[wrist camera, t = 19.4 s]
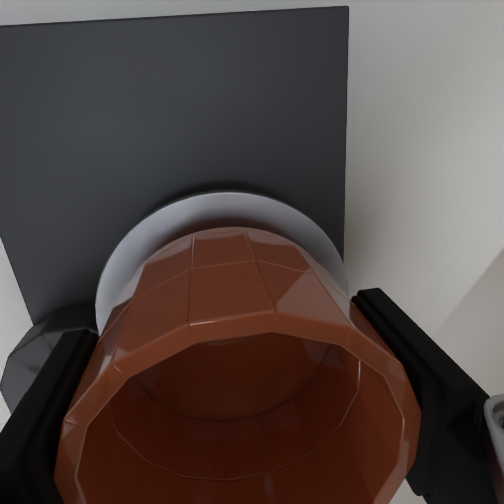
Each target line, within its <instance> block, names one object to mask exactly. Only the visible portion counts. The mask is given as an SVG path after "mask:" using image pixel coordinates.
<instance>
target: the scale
mask: <svg viewBox="0 0 504 504" xmlns="http://www.w3.org/2000/svg"><path fill="white" fill-rule="evenodd" d="M348 35H349V6H332V7H314V8H297V9H280V10H262V11H245V12H228V13H210V14H193V15H176V16H158V17H141V18H124V19H106V20H89V21H72V22H54V23H37V24H20V25H2V26H0V237H1V240H2V242H3V245H4V248H5V250H6V253H7V256H8V258H9V261H10V264H11V267H12V269H13V272H14V275H15V277H16V280H17V283H18V285H19V288H20V291H21V293H22V296H23V299H24V301H25V304H26V307H27V309H28V312H29V315H30V317H31V320H32V323H33V325H34V326H33V327H32V328H30V329H29V331H28V332H27V333H26V334H25V336H24V337H23V338H22V340H21V341H20V342H19V343H18V345H17V346H16V347H15V349H14V350H13V351H12V352H11V354H10V355H9V356H8V359H7V362H6V366H5V369H4V372H3V376H2V379H1V382H0V391H1V393H2V395H3V397H4V399H5V402H6V404H7V406H8V408H9V410H10V413H11V415H12V413H13V412H14V410H15V408H16V407H17V405H18V404H19V402H20V400H21V399H22V397H23V395H24V394H25V393H26V392H27V390H28V389H29V388H30V386H31V385H32V383H33V381H34V380H35V378H36V376H37V375H38V373H39V371H40V370H41V368H42V367H43V365H44V363H45V362H46V360H47V358H48V357H49V355H50V354H51V352H52V350H53V349H54V347H55V345H56V344H57V342H58V341H59V339H60V337H61V336H62V334H63V333H64V332H67V331H74V330H81V329H89V330H90V332H91V333H97V335H98V337H99V338H100V336H99V332H98V327H97V323H96V311H95V302H96V293H97V287H98V283H99V280H100V276H101V273H102V271H103V269H104V266H105V264H106V262H107V260H108V258H109V256H110V255H111V253H112V252H113V250H114V248H115V247H116V245H117V244H118V242H119V241H120V240H121V239H122V237H123V236H124V235H125V234H126V233H127V232H128V231H129V229H130V228H131V227H132V226H134V225H135V224H136V223H137V222H138V221H140V220H141V219H142V218H143V217H144V216H146V215H147V214H149V213H150V212H152V211H154V210H155V209H157V208H158V207H160V206H162V205H164V204H166V203H168V202H171V201H173V200H175V199H177V198H181V197H184V196H187V195H190V194H193V193H198V192H204V191H210V190H225V189H234V190H245V191H252V192H256V193H261V194H265V195H269V196H271V197H274V198H277V199H279V200H282V201H284V202H286V203H288V204H290V205H291V206H293V207H295V208H297V209H298V210H300V211H301V212H303V213H304V214H305V215H307V216H308V217H309V218H311V219H312V220H313V221H314V222H315V223H316V224H317V225H318V226H319V227H320V228H321V229H322V230H323V231H324V232H325V234H326V235H327V236H328V238H329V239H330V240H331V242H332V243H333V244H334V246H335V248H336V250H337V252H338V254H339V255H340V257H341V260H342V263H343V256H344V212H345V167H346V123H347V79H348Z"/></svg>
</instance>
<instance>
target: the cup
mask: <svg viewBox="0 0 504 504" xmlns="http://www.w3.org/2000/svg"><path fill="white" fill-rule="evenodd" d="M421 419H422V410H421V407H420V405H419V403H418V400H417V398H416V395H415V393H414V391H413V388H412V386H411V383H410V381H409V379H408V376H407V374H406V371H405V369H404V367H403V365H402V363H401V362H400V361H399V359H398V358H397V357H396V356H395V355H394V353H393V352H392V351H391V350H390V348H389V347H388V346H387V345H386V343H385V342H384V341H383V340H382V338H381V337H380V336H379V335H378V333H377V332H376V331H375V330H374V328H373V327H372V326H371V325H370V323H369V322H368V321H367V320H366V318H365V317H364V316H363V315H362V313H361V312H360V311H359V310H358V308H357V307H356V306H355V305H354V303H353V302H352V301H351V300H350V298H349V297H348V296H347V295H346V293H345V292H344V291H343V290H342V288H341V287H340V286H339V285H338V283H337V282H336V281H335V280H334V278H333V277H332V276H331V275H330V273H329V272H328V271H327V270H326V269H325V268H324V267H322V266H321V265H320V264H319V263H318V262H317V261H316V260H315V259H314V258H313V257H312V256H311V255H310V254H309V253H308V252H307V251H306V250H304V249H303V248H301V247H300V246H298V245H297V244H295V243H294V242H292V241H290V240H288V239H286V238H284V237H282V236H280V235H277V234H274V233H271V232H268V231H264V230H259V229H254V228H245V227H221V228H213V229H208V230H202V231H199V232H196V233H193V234H189V235H186V236H184V237H182V238H179V239H177V240H175V241H173V242H171V243H169V244H168V245H166V246H164V247H163V248H161V249H160V250H158V251H156V252H155V253H154V254H153V255H152V256H150V257H149V258H148V259H147V260H146V261H144V263H143V264H142V265H141V266H140V267H139V268H138V269H137V270H136V271H135V272H134V274H133V275H132V277H131V278H130V280H129V281H128V283H127V284H126V286H125V288H124V290H123V291H122V293H121V294H120V295H119V296H118V298H117V300H116V302H115V304H114V306H113V308H112V311H111V313H110V315H109V318H108V320H107V322H106V324H105V327H104V329H103V331H102V333H101V336H100V338H99V340H98V342H97V345H96V347H95V349H94V351H93V354H92V356H91V358H90V361H89V363H88V365H87V367H86V370H85V372H84V374H83V376H82V379H81V381H80V383H79V385H78V388H77V390H76V392H75V395H74V397H73V399H72V401H71V404H70V406H69V408H68V410H67V413H66V415H65V417H64V419H63V423H62V428H61V434H60V439H59V445H58V450H57V456H56V461H55V467H54V472H53V478H54V479H53V481H54V483H55V486H56V488H57V490H58V493H59V495H60V497H61V499H62V502H63V504H389V502H390V501H391V499H392V498H393V496H394V495H395V493H396V491H397V490H398V488H399V487H400V485H401V484H402V482H403V480H404V479H405V477H406V476H407V474H408V473H409V471H410V469H411V468H412V466H413V465H414V463H415V462H414V461H415V460H416V454H417V447H418V440H419V433H420V426H421Z"/></svg>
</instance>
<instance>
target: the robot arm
mask: <svg viewBox="0 0 504 504" xmlns="http://www.w3.org/2000/svg"><path fill="white" fill-rule="evenodd" d="M351 301H352V302H353V303H354V305H355V306H356V307H357V308H358V310H359V311H360V312H361V313H362V315H363V316H364V317H365V318H366V320H367V321H368V322H369V323H370V325H371V326H372V327H373V328H374V330H375V331H376V332H377V333H378V335H379V336H380V337H381V338H382V340H383V341H384V342H385V343H386V345H387V346H388V347H389V348H390V350H391V351H392V352H393V353H394V355H395V356H396V357H397V358H398V359H399V361H400V362H401V363H402V365H403V367H404V369H405V371H406V374H407V376H408V379H409V381H410V383H411V386H412V388H413V391H414V393H415V395H416V398H417V400H418V403H419V405H420V407H421V410H422V419H421V426H420V433H419V440H418V447H417V454H416V460H415V461H414V462H415V463H414V465H413V466H412V468H411V469H410V471H409V473H408V474H407V476H406V477H405V478H406V480H407V482H408V484H409V485H410V487H411V489H412V491H413V492H414V493H415V494H416V495H417V496H421V495H422V496H423V498H424V499H425V501H426V503H427V504H504V394H500V395H494V396H492V397H490V396H489V395H488V394H486V393H485V391H483V389H481V387H480V386H479V385H478V384H477V383H476V382H475V381H474V380H472V378H471V377H469V375H467V374H466V373H465V372H464V371H463V370H462V369H461V368H460V367H459V366H458V365H457V364H456V363H455V362H454V361H453V360H452V359H451V358H450V357H449V356H448V355H447V354H446V353H445V352H444V351H443V350H442V349H441V348H440V347H439V346H438V345H437V344H436V343H435V342H434V341H433V340H432V339H431V338H430V337H429V336H428V335H427V334H426V333H425V332H424V331H423V330H422V329H421V328H420V327H419V326H418V325H417V324H416V323H415V322H414V321H413V320H412V319H411V318H410V317H409V316H408V315H407V314H406V313H405V312H404V311H403V310H401V309H400V308H399V307H398V306H397V305H396V304H395V303H394V302H393V301H392V300H391V299H390V298H389V297H388V296H387V295H386V294H385V293H384V292H383V291H382V290H381V289H380V288H372V289H365V290H359V291H358V293H357V296H353V297H352V300H351ZM98 340H99V337H98V335H97V333H91V332H90V330H89V329H81V330H74V331H67V332H64V333H63V334H62V336H61V337H60V339H59V341H58V342H57V344H56V345H55V347H54V349H53V350H52V352H51V354H50V355H49V357H48V358H47V360H46V362H45V363H44V365H43V367H42V368H41V370H40V371H39V373H38V375H37V376H36V378H35V380H34V381H33V383H32V385H31V386H30V388H29V389H28V390H27V392H26V393H25V394H24V395H23V397H22V399H21V400H20V402H19V404H18V405H17V407H16V408H15V410H14V412H13V413H12V415H11V416H10V418H9V420H8V421H7V423H6V425H5V426H4V428H3V429H2V431H1V433H0V504H63V502H62V499H61V497H60V495H59V493H58V490H57V488H56V486H55V483H54V481H53V479H54V478H53V472H54V467H55V461H56V456H57V450H58V445H59V439H60V434H61V428H62V423H63V419H64V417H65V415H66V413H67V410H68V408H69V406H70V404H71V401H72V399H73V397H74V395H75V392H76V390H77V388H78V385H79V383H80V381H81V379H82V376H83V374H84V372H85V370H86V367H87V365H88V363H89V361H90V358H91V356H92V354H93V351H94V349H95V347H96V345H97V342H98Z"/></svg>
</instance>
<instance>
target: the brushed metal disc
mask: <svg viewBox="0 0 504 504" xmlns="http://www.w3.org/2000/svg"><path fill="white" fill-rule="evenodd" d="M221 227H245V228H254V229H259V230H264V231H268V232H271V233H274V234H277V235H280V236H282V237H284V238H286V239H288V240H290V241H292V242H294V243H295V244H297V245H298V246H300V247H301V248H303V249H304V250H306V251H307V252H308V253H309V254H310V255H311V256H312V257H313V258H314V259H315V260H316V261H317V262H318V263H319V264H320V265H321V266H322V267H324V268H325V269H326V270H327V271H328V272H329V273H330V275H331V276H332V277H333V278H334V280H335V281H336V282H337V283H338V285H339V286H340V287H341V288H342V290H343V291H344V292H345V293H346V295H347V296H348V282H347V277H346V272H345V269H344V266H343V263H342V260H341V257H340V255H339V254H338V252H337V250H336V248H335V246H334V244H333V243H332V242H331V240H330V239H329V238H328V236H327V235H326V234H325V232H324V231H323V230H322V229H321V228H320V227H319V226H318V225H317V224H316V223H315V222H314V221H313V220H312V219H311V218H309V217H308V216H307V215H305V214H304V213H303V212H301V211H300V210H298V209H297V208H295V207H293V206H291V205H290V204H288V203H286V202H284V201H282V200H279V199H277V198H274V197H271V196H269V195H265V194H261V193H256V192H252V191H245V190H234V189H225V190H210V191H204V192H198V193H193V194H190V195H187V196H184V197H181V198H177V199H175V200H173V201H171V202H168V203H166V204H164V205H162V206H160V207H158V208H157V209H155V210H154V211H152V212H150V213H149V214H147V215H146V216H144V217H143V218H142V219H141V220H140V221H138V222H137V223H136V224H135V225H134V226H132V227H131V228H130V229H129V231H128V232H127V233H126V234H125V235H124V236H123V237H122V239H121V240H120V241H119V242H118V244H117V245H116V247H115V248H114V250H113V252H112V253H111V255H110V256H109V258H108V260H107V262H106V264H105V266H104V269H103V271H102V273H101V276H100V280H99V283H98V287H97V293H96V302H95V311H96V323H97V327H98V332H99V336H101V333H102V331H103V329H104V327H105V324H106V322H107V320H108V318H109V315H110V313H111V311H112V308H113V306H114V304H115V302H116V300H117V298H118V296H119V295H120V294H121V293H122V291H123V290H124V288H125V286H126V284H127V283H128V281H129V280H130V278H131V277H132V275H133V274H134V272H135V271H136V270H137V269H138V268H139V267H140V266H141V265H142V264H143V263H144V261H146V260H147V259H148V258H149V257H150V256H152V255H153V254H154V253H155V252H156V251H158V250H160V249H161V248H163V247H164V246H166V245H168V244H169V243H171V242H173V241H175V240H177V239H179V238H182V237H184V236H186V235H189V234H193V233H196V232H199V231H202V230H208V229H213V228H221Z"/></svg>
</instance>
